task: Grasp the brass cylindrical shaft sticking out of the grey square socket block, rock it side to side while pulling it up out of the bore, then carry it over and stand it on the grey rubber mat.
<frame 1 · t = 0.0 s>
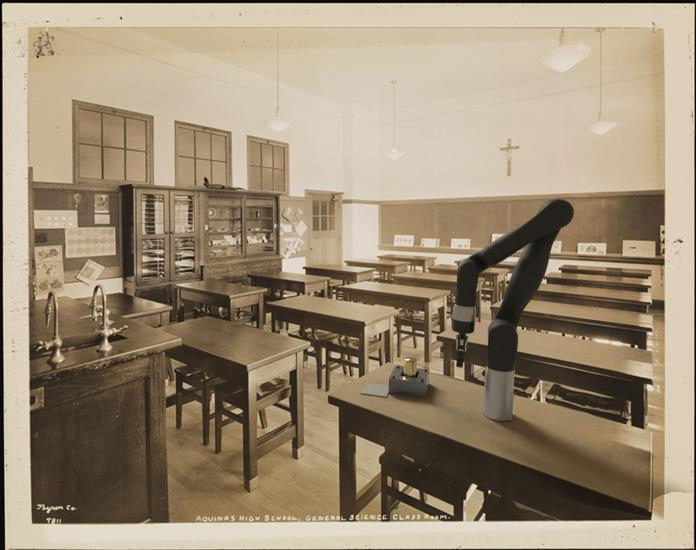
hand: (459, 362, 142), 17 cm above the table, tool pointing down, fingers open, 8 cm apart
brass cylindrical shaft: (409, 373, 160), in the grey square socket block
grey square socket block: (409, 388, 161), on the table
rubber mat: (376, 390, 159), on the table
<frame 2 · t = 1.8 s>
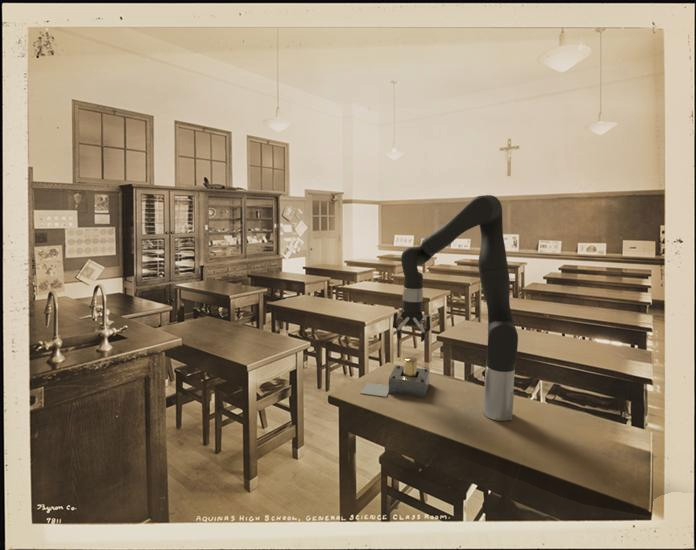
hand: (410, 340, 158), 20 cm above the table, tool pointing down, fingers open, 8 cm apart
nothing on the table moved.
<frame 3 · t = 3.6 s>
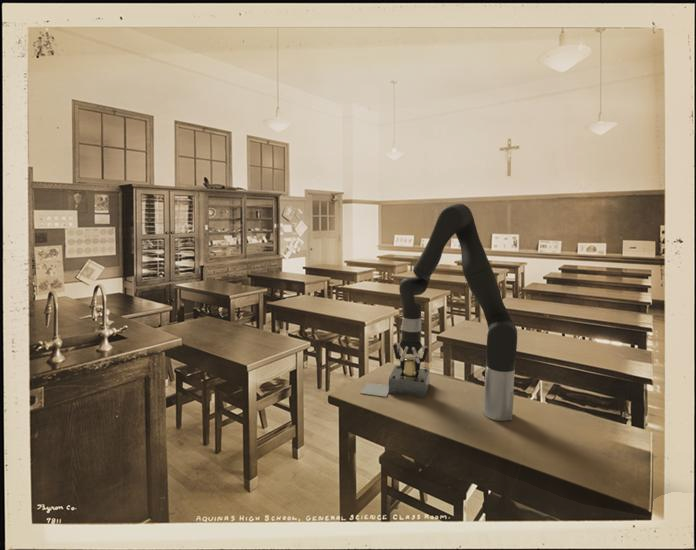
hand: (409, 370, 160), 7 cm above the table, tool pointing down, fingers closed on brass cylindrical shaft, 5 cm apart
brass cylindrical shaft: (409, 373, 160), in the grey square socket block, touching gripper
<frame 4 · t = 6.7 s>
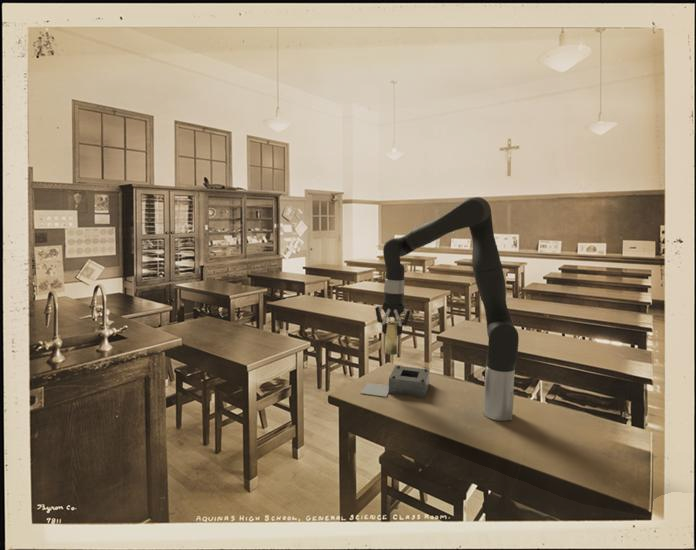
hand: (391, 334, 157), 22 cm above the table, tool pointing down, fingers closed on brass cylindrical shaft, 5 cm apart
brass cylindrical shaft: (391, 337, 157), point 21 cm above the table, touching gripper
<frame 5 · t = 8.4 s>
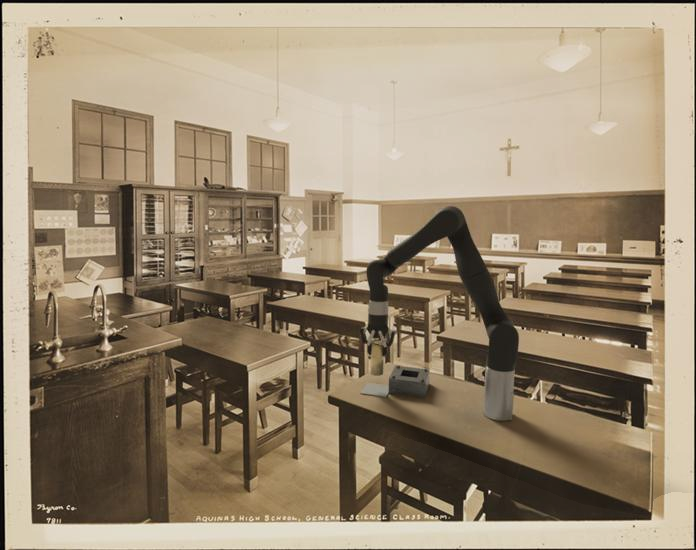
hand: (377, 354, 157), 14 cm above the table, tool pointing down, fingers closed on brass cylindrical shaft, 5 cm apart
brass cylindrical shaft: (377, 358, 157), point 13 cm above the table, touching gripper
when the fingers open (9 cm above the table, at t = 9.9 s): brass cylindrical shaft stays where it is, resting on rubber mat.
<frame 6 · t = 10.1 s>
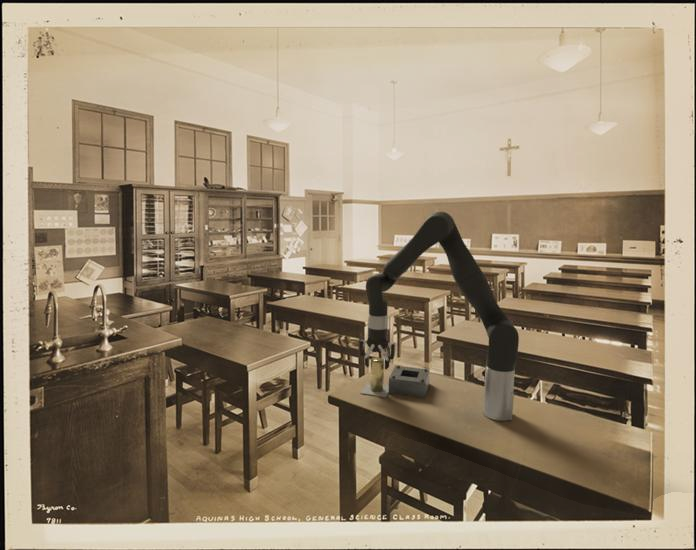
hand: (376, 367, 158), 9 cm above the table, tool pointing down, fingers open, 6 cm apart
brass cylindrical shaft: (377, 374, 158), on the rubber mat
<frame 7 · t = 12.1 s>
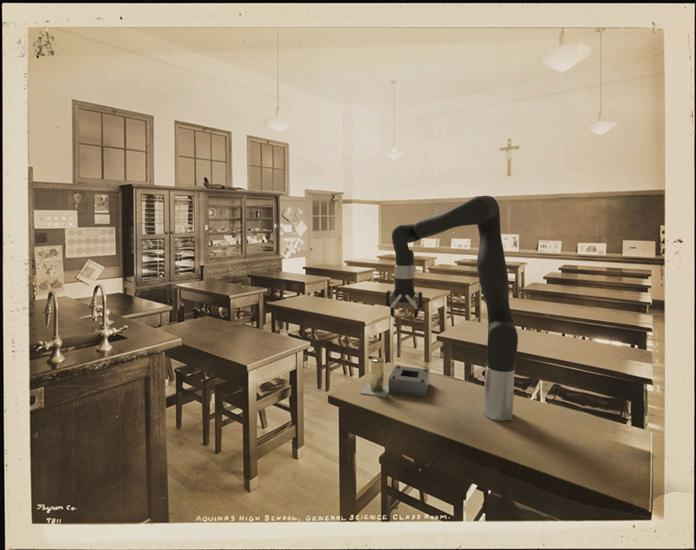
hand: (404, 317, 160), 28 cm above the table, tool pointing down, fingers open, 8 cm apart
nothing on the table moved.
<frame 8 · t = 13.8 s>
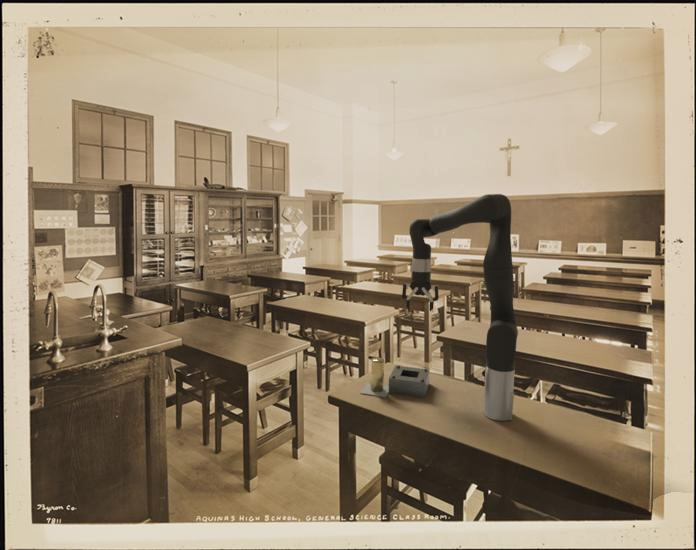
hand: (419, 309, 164), 30 cm above the table, tool pointing down, fingers open, 8 cm apart
nothing on the table moved.
at the end: brass cylindrical shaft inside the target area on the rubber mat (0.2 cm from its centre), point 6.4 cm above the rubber mat's base; brass cylindrical shaft tilted 1°; the gripper is holding nothing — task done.
